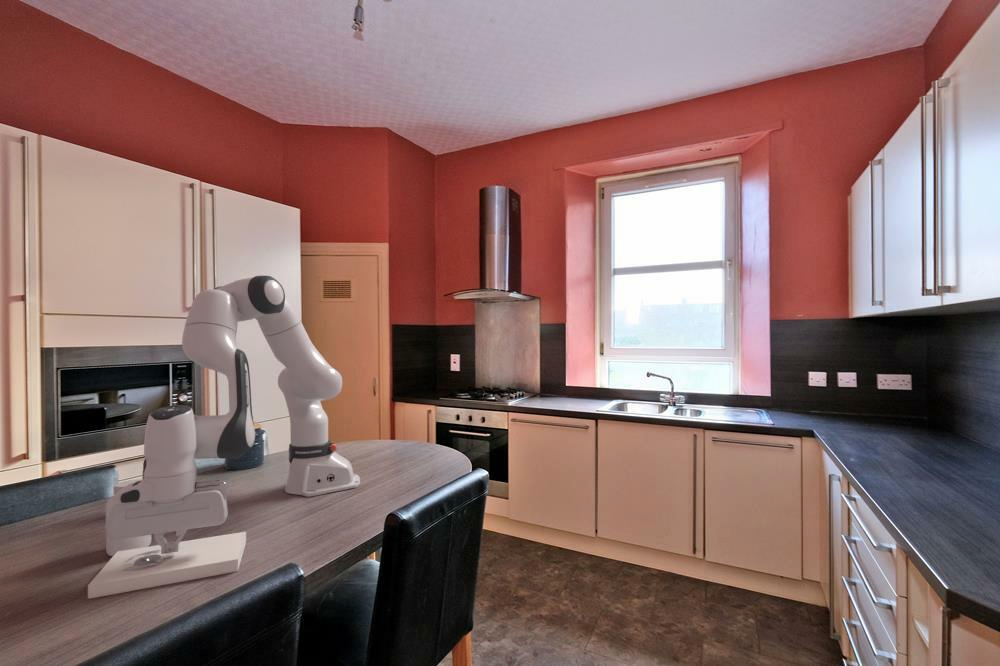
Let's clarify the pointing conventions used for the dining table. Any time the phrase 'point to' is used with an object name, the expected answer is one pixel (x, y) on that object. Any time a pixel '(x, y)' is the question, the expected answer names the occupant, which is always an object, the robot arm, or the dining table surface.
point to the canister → (250, 453)
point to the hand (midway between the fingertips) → (170, 551)
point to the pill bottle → (127, 543)
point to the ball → (143, 561)
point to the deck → (169, 564)
